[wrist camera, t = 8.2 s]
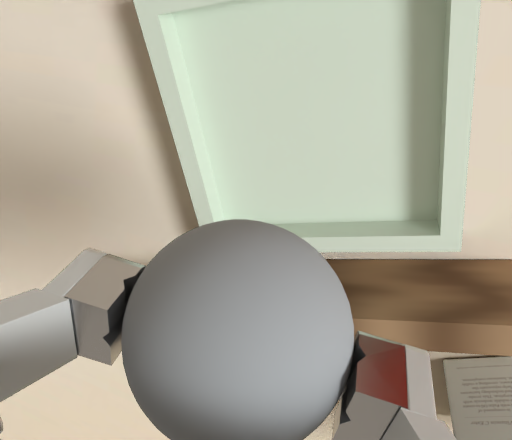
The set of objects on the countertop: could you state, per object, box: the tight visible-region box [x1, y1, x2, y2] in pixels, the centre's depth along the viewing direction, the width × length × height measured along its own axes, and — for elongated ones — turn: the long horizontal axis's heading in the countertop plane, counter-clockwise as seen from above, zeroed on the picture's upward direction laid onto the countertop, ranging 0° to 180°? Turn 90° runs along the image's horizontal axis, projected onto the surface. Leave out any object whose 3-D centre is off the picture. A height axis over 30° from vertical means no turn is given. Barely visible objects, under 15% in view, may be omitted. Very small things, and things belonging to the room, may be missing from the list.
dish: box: [133, 0, 481, 252], centre depth 20 cm, size 14×14×2 cm
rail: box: [326, 260, 512, 356], centre depth 24 cm, size 20×2×5 cm, turn 101°
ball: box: [121, 219, 354, 440], centre depth 9 cm, size 5×5×5 cm
